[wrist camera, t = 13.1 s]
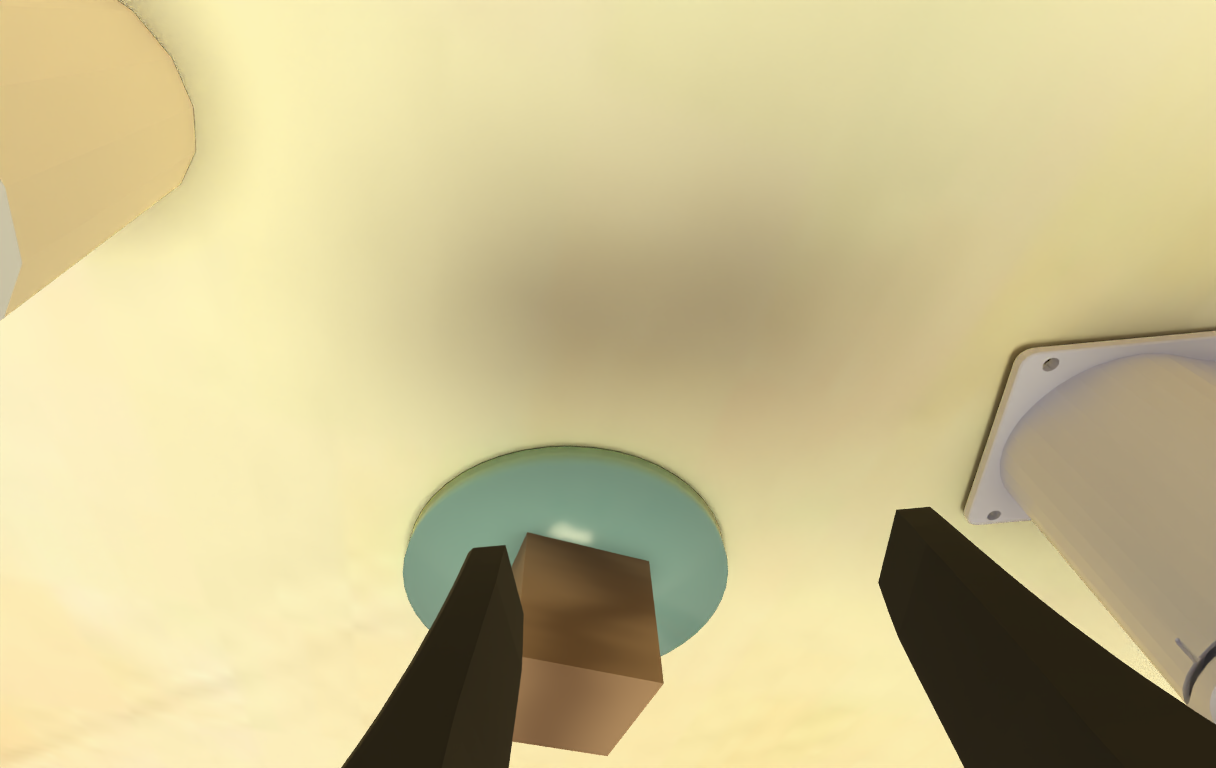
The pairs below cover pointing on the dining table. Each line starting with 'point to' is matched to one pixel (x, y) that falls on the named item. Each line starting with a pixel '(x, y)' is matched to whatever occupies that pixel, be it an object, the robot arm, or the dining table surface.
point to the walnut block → (583, 645)
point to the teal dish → (575, 527)
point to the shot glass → (80, 134)
